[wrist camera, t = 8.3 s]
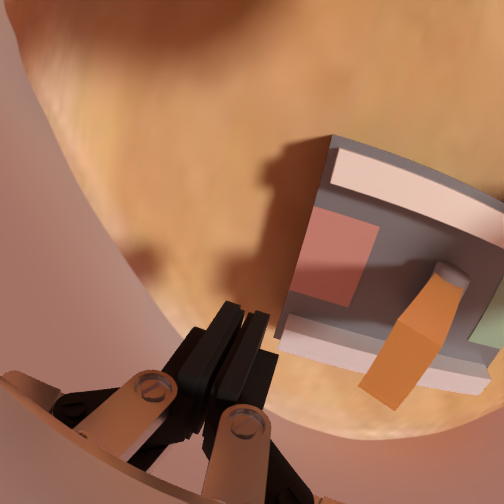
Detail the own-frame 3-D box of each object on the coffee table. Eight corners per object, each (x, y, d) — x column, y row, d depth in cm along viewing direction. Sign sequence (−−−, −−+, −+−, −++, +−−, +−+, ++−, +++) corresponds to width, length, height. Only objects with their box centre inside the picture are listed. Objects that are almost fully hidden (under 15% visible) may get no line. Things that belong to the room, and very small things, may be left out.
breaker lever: (440, 257, 16) (397, 307, 10) (472, 275, 15) (452, 341, 8) (412, 315, 18) (350, 389, 11) (440, 333, 16) (393, 419, 10)
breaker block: (332, 134, 18) (332, 134, 14) (535, 221, 16) (571, 244, 11) (281, 311, 24) (267, 353, 19) (463, 360, 21) (478, 401, 17)
